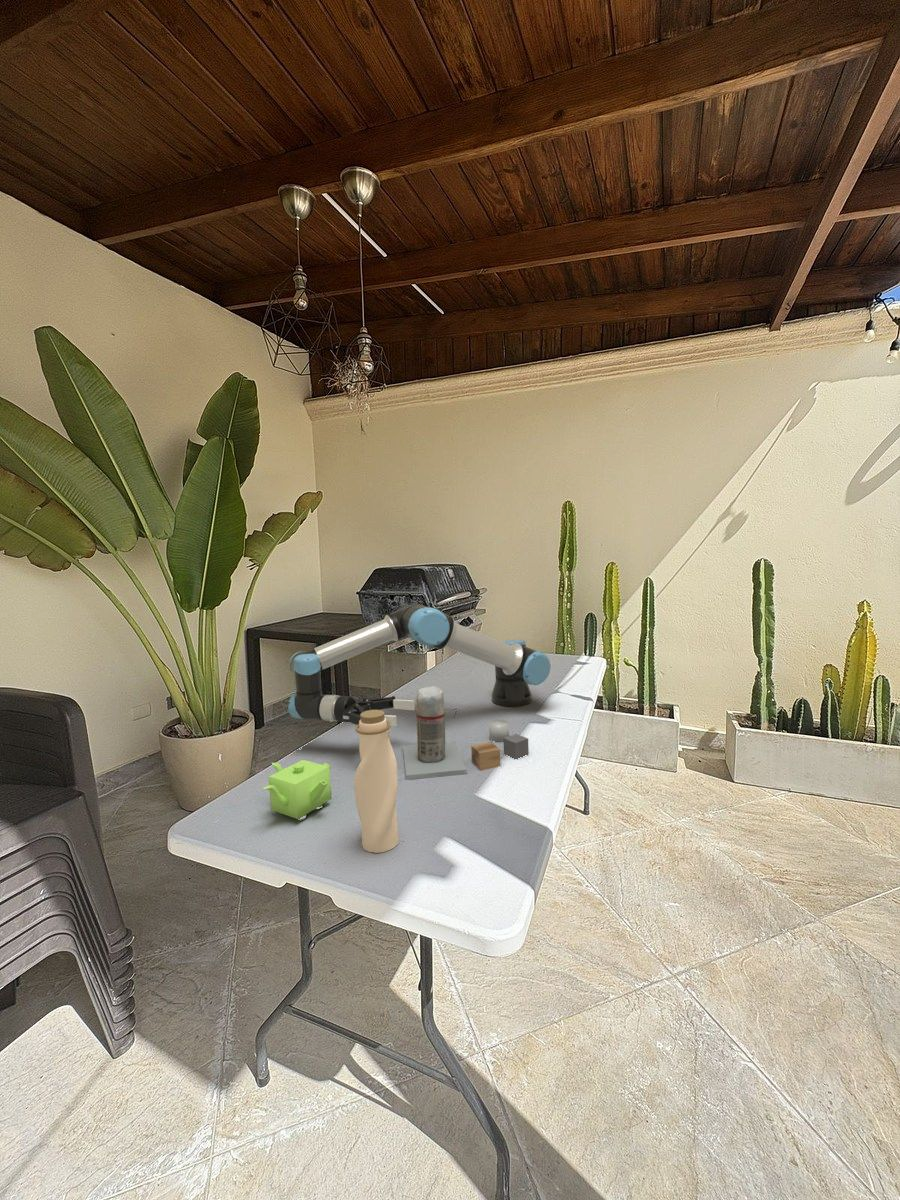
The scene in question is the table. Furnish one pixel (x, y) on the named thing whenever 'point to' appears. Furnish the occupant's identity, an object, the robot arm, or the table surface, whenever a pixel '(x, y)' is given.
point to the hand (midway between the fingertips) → (405, 712)
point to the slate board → (433, 763)
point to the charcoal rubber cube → (516, 746)
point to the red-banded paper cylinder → (430, 724)
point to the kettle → (299, 788)
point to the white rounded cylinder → (498, 730)
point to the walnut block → (485, 755)
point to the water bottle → (376, 783)
